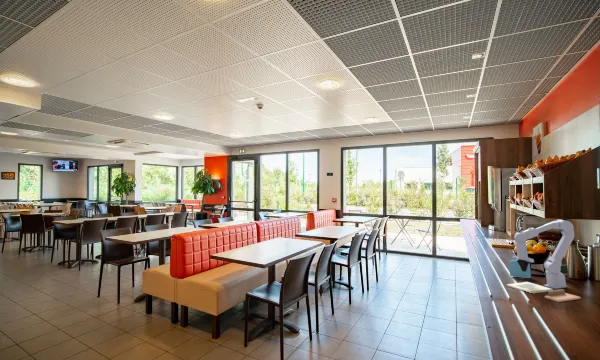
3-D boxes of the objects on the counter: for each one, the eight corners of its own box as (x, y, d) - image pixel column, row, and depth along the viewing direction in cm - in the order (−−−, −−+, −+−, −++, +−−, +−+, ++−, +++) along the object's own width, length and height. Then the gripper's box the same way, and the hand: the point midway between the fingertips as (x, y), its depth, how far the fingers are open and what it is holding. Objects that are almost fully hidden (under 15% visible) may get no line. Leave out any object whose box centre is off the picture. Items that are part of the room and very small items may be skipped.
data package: (531, 277, 216) (529, 260, 217) (530, 279, 213) (528, 262, 214) (511, 275, 224) (509, 259, 225) (510, 277, 221) (508, 260, 222)
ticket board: (527, 283, 204) (526, 281, 205) (553, 290, 187) (552, 288, 187) (506, 285, 202) (506, 284, 202) (530, 293, 184) (530, 291, 184)
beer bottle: (566, 278, 209) (561, 243, 211) (572, 281, 202) (567, 245, 203) (552, 278, 211) (548, 243, 213) (558, 281, 204) (553, 245, 206)
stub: (566, 294, 178) (565, 288, 179) (580, 298, 170) (579, 292, 171) (544, 297, 176) (543, 291, 176) (558, 302, 168) (557, 295, 168)
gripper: (507, 249, 208) (510, 269, 207) (526, 253, 194) (528, 274, 193) (516, 248, 209) (518, 268, 208) (535, 252, 195) (538, 273, 194)
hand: (524, 271), depth 200 cm, fingers closed
